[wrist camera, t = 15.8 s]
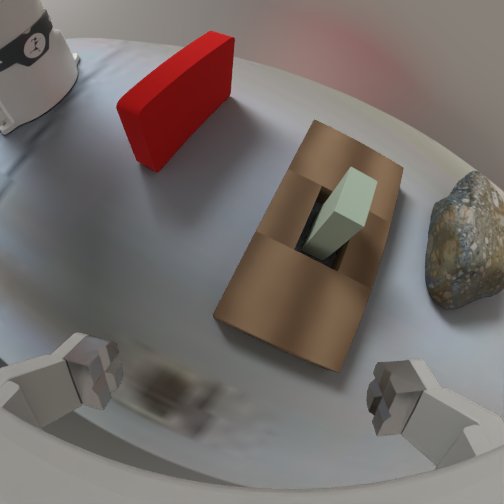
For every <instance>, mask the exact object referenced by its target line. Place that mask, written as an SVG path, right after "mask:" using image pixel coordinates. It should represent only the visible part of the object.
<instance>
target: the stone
mask: <svg viewBox="0 0 504 504" xmlns="http://www.w3.org/2000/svg"><path fill="white" fill-rule="evenodd" d="M425 278H426V284H427V287H428V290H429V292H430V294H431V296H432V297H433V299H434V300H435V301H436V302H437V303H438V304H439V305H440V306H441V307H443V308H446V309H458V308H460V307H462V306H464V305H466V304H468V303H471V302H473V301H475V300H477V299H480V298H483V297H490V296H493V295H495V294H497V293H499V292H500V291H502V290H503V289H504V202H503V201H502V199H501V197H500V195H499V194H498V192H497V191H496V190H495V188H494V187H493V186H492V184H491V183H490V182H489V181H488V179H487V178H486V177H485V176H484V175H483V174H482V173H480V172H478V171H472V172H470V173H469V174H467V175H466V176H465V177H464V178H463V179H461V180H460V181H459V182H458V183H457V184H456V186H455V187H454V189H453V190H452V192H451V193H450V195H449V196H448V197H446V198H444V199H442V200H440V201H438V202H436V203H435V204H434V207H433V210H432V214H431V222H430V226H429V232H428V244H427V251H426V262H425Z"/></svg>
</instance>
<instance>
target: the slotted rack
mask: <svg viewBox="0 0 504 504" xmlns="http://www.w3.org/2000/svg"><path fill="white" fill-rule="evenodd" d="M350 167H353V168H355V169H356V170H358V171H360V172H362V173H364V174H365V175H367V176H369V177H371V178H373V179H374V180H376V181H378V182H377V185H376V189H375V192H374V196H373V199H372V203H371V206H370V209H369V213H368V216H367V219H366V222H365V226H364V227H363V228H362V229H361V230H360V231H359V232H357V233H356V234H355V235H354V236H353V237H352V238H350V239H349V240H348V241H347V242H346V243H344V244H343V245H342V246H341V247H340V248H339V249H338V251H337V254H336V257H335V259H334V262H333V265H332V267H331V268H330V267H328V266H326V265H324V264H322V263H320V262H318V261H316V260H314V259H312V258H310V257H308V256H306V255H304V254H302V253H300V252H298V251H296V250H294V249H295V246H296V244H297V242H298V240H299V237H300V235H301V233H302V231H303V228H304V226H305V224H306V222H307V219H308V217H309V215H310V213H311V210H312V208H313V206H314V203H315V201H318V202H320V203H322V204H324V203H325V202H326V200H327V199H328V198H329V196H330V195H331V194H332V192H333V191H334V189H335V188H336V187H337V185H338V184H339V182H340V181H341V180H342V178H343V177H344V175H345V174H346V173H347V171H348V170H349V168H350ZM402 173H403V167H401V166H400V165H398V164H396V163H395V162H393V161H392V160H390V159H388V158H387V157H385V156H383V155H381V154H380V153H378V152H376V151H374V150H373V149H371V148H369V147H367V146H366V145H364V144H362V143H360V142H358V141H356V140H355V139H353V138H351V137H349V136H347V135H345V134H343V133H341V132H339V131H337V130H335V129H333V128H331V127H329V126H327V125H325V124H323V123H321V122H319V121H317V120H314V121H313V123H312V125H311V126H310V128H309V130H308V132H307V134H306V136H305V138H304V140H303V142H302V144H301V145H300V147H299V149H298V151H297V153H296V155H295V157H294V159H293V161H292V163H291V165H290V166H289V168H288V170H287V172H286V174H285V176H284V178H283V180H282V182H281V184H280V186H279V188H278V190H277V191H276V193H275V195H274V197H273V199H272V201H271V203H270V205H269V207H268V209H267V211H266V213H265V215H264V216H263V218H262V220H261V222H260V224H259V226H258V228H257V230H256V232H255V234H254V236H253V238H252V240H251V242H250V244H249V245H248V247H247V249H246V251H245V253H244V255H243V257H242V259H241V261H240V263H239V265H238V267H237V269H236V271H235V273H234V275H233V277H232V278H231V280H230V282H229V284H228V286H227V288H226V290H225V292H224V294H223V296H222V298H221V300H220V302H219V304H218V306H217V308H216V310H215V312H214V314H213V317H214V318H215V319H217V320H219V321H221V322H223V323H225V324H227V325H229V326H231V327H234V328H236V329H238V330H240V331H242V332H244V333H246V334H248V335H250V336H252V337H254V338H256V339H259V340H261V341H263V342H265V343H267V344H269V345H271V346H274V347H276V348H278V349H280V350H282V351H285V352H287V353H289V354H291V355H294V356H296V357H298V358H301V359H303V360H305V361H308V362H310V363H312V364H315V365H317V366H319V367H322V368H324V369H327V370H330V371H334V372H340V370H341V367H342V365H343V363H344V360H345V358H346V356H347V353H348V351H349V348H350V346H351V344H352V341H353V339H354V336H355V333H356V331H357V328H358V326H359V323H360V320H361V318H362V315H363V312H364V309H365V307H366V304H367V301H368V298H369V295H370V292H371V289H372V286H373V283H374V280H375V277H376V274H377V271H378V267H379V264H380V261H381V258H382V254H383V251H384V247H385V244H386V240H387V237H388V233H389V229H390V225H391V221H392V217H393V213H394V209H395V205H396V201H397V196H398V192H399V187H400V183H401V178H402Z"/></svg>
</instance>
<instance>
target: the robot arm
mask: <svg viewBox="0 0 504 504" xmlns="http://www.w3.org/2000/svg"><path fill="white" fill-rule="evenodd" d="M52 27H53V26H52V23H51V18H50V16H49V15H48V13H47V11H46V10H44V9H43V7H42V4H41V1H40V0H0V131H1V132H2V133H3V134H4V135H5V134H8V133H9V132H11V131H12V130H13V129H15V128H16V127H18V126H19V125H21V124H24V123H26V122H29V121H31V120H33V119H35V118H37V117H39V116H40V115H42V114H44V113H45V112H47V111H48V110H49V109H51V108H52V107H53V106H54V105H56V104H57V103H58V102H59V101H60V100H61V99H62V98H63V97H64V96H65V95H66V94H67V93H68V91H69V90H70V89H71V88H72V86H73V85H74V83H75V81H76V79H77V75H78V70H77V64H78V61H79V59H80V57H79V55H78V54H77V53H71V51H70V49H69V47H68V45H67V43H66V41H65V39H64V37H63V35H62V33H61V31H60V30H57V29H52ZM118 353H119V351H118V347H117V344H116V343H115V342H114V341H112V340H108V339H103V338H99V337H95V336H91V335H87V334H83V333H74V334H73V335H72V336H71V337H70V338H68V339H67V340H66V341H65V342H64V343H63V344H62V345H61V346H60V347H59V348H58V349H56V350H55V351H54V352H53V353H52V354H51V355H48V354H46V355H43V356H39V357H36V358H33V359H30V360H26V361H23V362H20V363H16V364H13V365H10V366H6V367H3V368H0V504H504V422H503V421H502V419H501V418H500V416H499V415H497V414H495V413H493V412H491V411H489V410H487V409H485V408H483V407H481V406H480V405H478V404H476V403H474V402H472V401H470V400H468V399H466V398H464V397H462V396H460V395H459V394H457V393H455V392H453V391H451V390H449V389H447V388H441V387H440V385H439V383H438V382H437V380H436V379H435V377H434V376H433V374H432V373H431V371H430V370H429V368H428V367H427V365H426V364H425V362H424V361H423V360H422V359H420V358H419V359H410V360H404V361H390V362H378V363H377V364H376V366H375V369H374V372H373V374H374V376H375V379H374V380H373V381H372V382H371V383H370V384H369V387H368V390H367V399H366V401H367V407H368V410H369V412H370V413H372V414H373V415H374V418H373V420H372V423H373V426H374V429H375V432H376V435H377V436H386V435H395V434H401V435H402V436H403V437H404V438H405V439H406V440H408V441H409V442H410V443H411V444H412V445H413V446H414V447H415V448H417V449H418V450H419V451H420V452H421V453H422V454H423V455H425V456H426V457H427V458H428V459H429V460H430V461H431V462H433V463H434V464H435V465H436V466H437V467H436V468H435V470H432V471H429V472H425V473H421V474H417V475H413V476H408V477H404V478H399V479H394V480H389V481H383V482H377V483H370V484H363V485H355V486H346V487H335V488H321V489H261V488H246V487H235V486H225V485H218V484H211V483H203V482H198V481H192V480H187V479H182V478H177V477H172V476H168V475H163V474H159V473H155V472H151V471H148V470H144V469H140V468H137V467H133V466H130V465H127V464H123V463H120V462H117V461H114V460H111V459H108V458H105V457H103V456H100V455H97V454H94V453H92V452H90V451H87V450H84V449H82V448H80V447H77V446H75V445H72V444H70V443H68V442H66V441H63V440H61V439H59V438H57V437H55V436H53V435H51V434H49V433H47V432H44V431H43V430H42V427H44V426H46V425H48V424H49V423H51V422H53V421H55V420H57V419H59V418H60V417H62V416H64V415H66V414H67V413H69V412H71V411H73V410H75V409H76V408H78V407H80V406H82V404H83V405H86V406H89V407H93V408H96V409H99V410H104V409H105V407H106V406H107V404H108V403H109V401H110V400H111V398H112V397H111V393H110V392H113V391H115V390H117V389H118V387H119V386H120V384H121V381H122V377H123V368H122V364H121V362H120V361H119V360H118V359H117V357H116V356H117V355H118Z"/></svg>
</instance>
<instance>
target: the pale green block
mask: <svg viewBox="0 0 504 504" xmlns="http://www.w3.org/2000/svg"><path fill="white" fill-rule="evenodd" d="M377 182H378V181H376V180H374V179H373V178H371V177H369V176H367V175H365V174H364V173H362V172H360V171H358V170H356V169H355V168H353V167H350V168H349V170H348V171H347V173H346V174H345V175H344V177H343V178H342V180H341V181H340V182H339V184H338V185H337V187H336V188H335V189H334V191H333V192H332V194H331V195H330V196H329V198H328V199H327V200H326V202H325V203H324V205H323V206H322V207H321V209H320V210H319V211H318V213H317V214H316V217H315V219H314V221H313V224H312V226H311V228H310V231H309V233H308V235H307V238H306V240H305V242H304V245H303V247H302V249H301V250H302V251H304V252H306V253H308V254H310V255H312V256H314V257H316V258H318V259H319V260H321V261H324V260H325V259H326V258H327V257H329V256H330V255H331V254H332V253H334V252H335V251H336V250H337V249H338V248H340V247H341V246H342V245H343V244H344V243H346V242H347V241H348V240H349V239H350V238H352V237H353V236H354V235H355V234H356V233H357V232H359V231H360V230H361V229H362V228H363V227H364V226H365V222H366V219H367V216H368V213H369V209H370V206H371V203H372V199H373V196H374V192H375V189H376V185H377Z"/></svg>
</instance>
